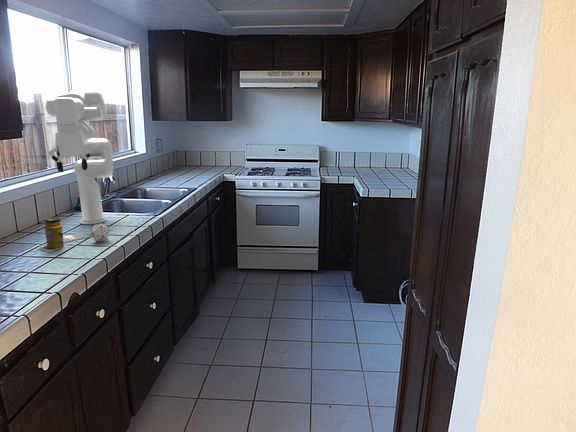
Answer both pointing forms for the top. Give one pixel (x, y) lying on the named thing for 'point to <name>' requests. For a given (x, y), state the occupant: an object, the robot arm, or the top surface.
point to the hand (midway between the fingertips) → (73, 170)
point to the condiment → (53, 235)
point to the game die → (100, 232)
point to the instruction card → (75, 237)
